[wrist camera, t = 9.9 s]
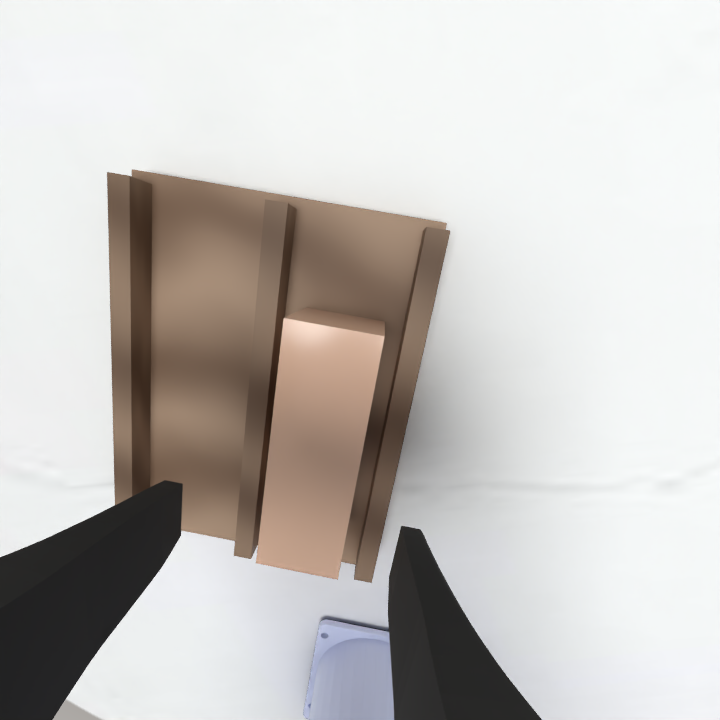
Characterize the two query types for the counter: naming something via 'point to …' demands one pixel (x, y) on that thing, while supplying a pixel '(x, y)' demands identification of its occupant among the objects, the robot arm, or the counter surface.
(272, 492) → the peach rectangular block
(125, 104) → the counter surface
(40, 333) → the counter surface
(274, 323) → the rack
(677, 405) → the counter surface
